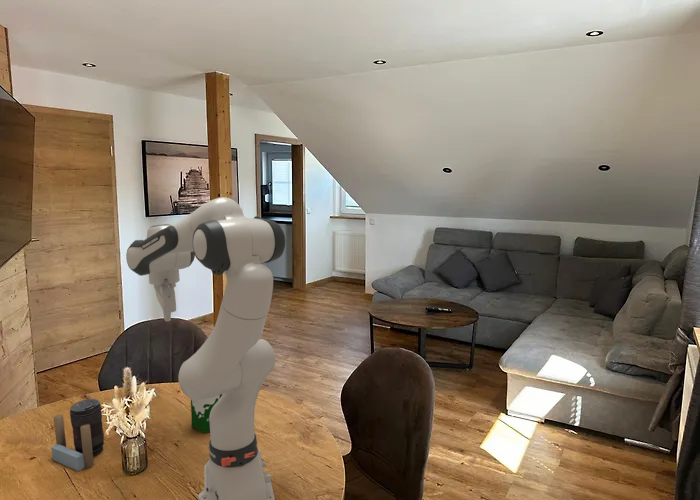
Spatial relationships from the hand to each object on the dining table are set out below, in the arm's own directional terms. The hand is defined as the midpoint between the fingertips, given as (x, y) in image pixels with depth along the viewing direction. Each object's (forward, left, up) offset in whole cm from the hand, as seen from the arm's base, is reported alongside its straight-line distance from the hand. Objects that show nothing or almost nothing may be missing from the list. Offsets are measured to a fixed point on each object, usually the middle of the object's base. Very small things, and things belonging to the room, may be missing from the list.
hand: (167, 320), depth 155 cm
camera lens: (-2, +24, -37) cm, 44 cm away
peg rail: (-6, +29, -36) cm, 47 cm away
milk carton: (-3, -10, -37) cm, 38 cm away
